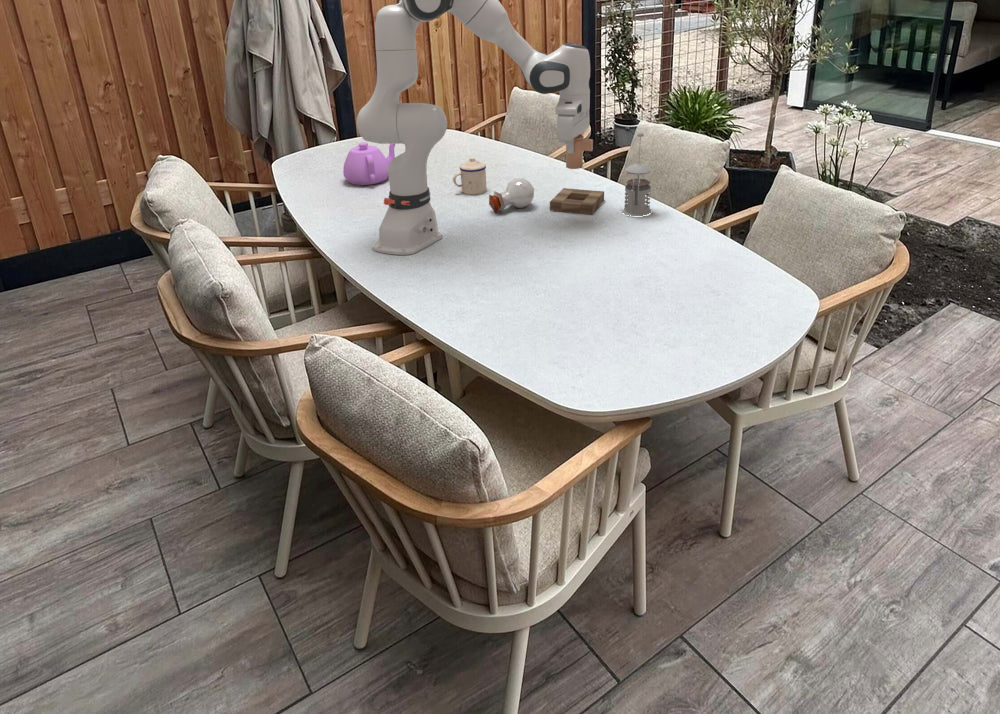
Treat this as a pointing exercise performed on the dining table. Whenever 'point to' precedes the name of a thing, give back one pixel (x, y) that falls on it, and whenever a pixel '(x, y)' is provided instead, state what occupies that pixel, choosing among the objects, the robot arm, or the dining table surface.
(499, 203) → the potion bottle
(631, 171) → the french press
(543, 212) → the dining table surface
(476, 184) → the teacup with lid
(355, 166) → the teapot
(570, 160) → the copper mug
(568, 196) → the holder
